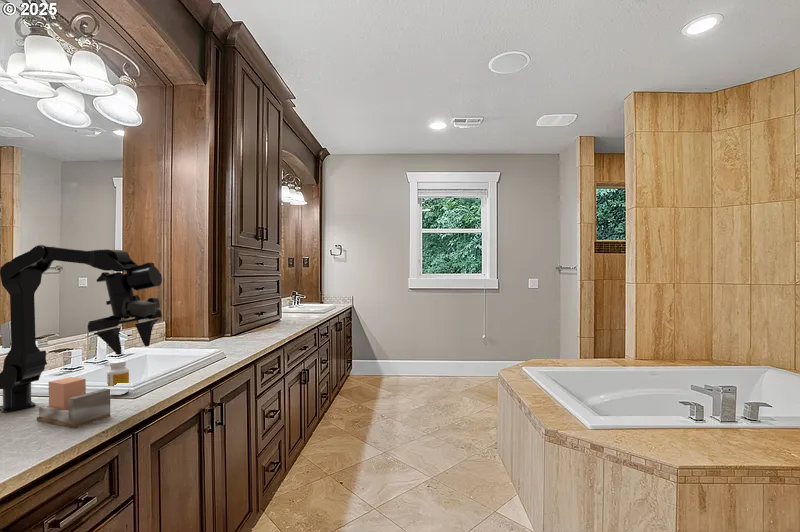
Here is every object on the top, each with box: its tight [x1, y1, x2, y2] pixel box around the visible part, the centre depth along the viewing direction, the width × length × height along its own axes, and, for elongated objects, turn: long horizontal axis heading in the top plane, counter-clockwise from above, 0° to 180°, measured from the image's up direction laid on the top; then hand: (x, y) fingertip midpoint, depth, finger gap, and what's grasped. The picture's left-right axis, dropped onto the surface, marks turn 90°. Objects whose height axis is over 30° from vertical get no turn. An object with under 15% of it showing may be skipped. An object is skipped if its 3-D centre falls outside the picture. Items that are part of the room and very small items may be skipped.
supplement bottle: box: [106, 359, 130, 386], centre depth 124 cm, size 5×5×10 cm
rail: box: [36, 388, 111, 429], centre depth 104 cm, size 14×8×7 cm, turn 68°
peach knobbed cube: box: [48, 376, 87, 410], centre depth 105 cm, size 7×5×8 cm
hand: (134, 350), depth 113 cm, fingers open, 9 cm apart
